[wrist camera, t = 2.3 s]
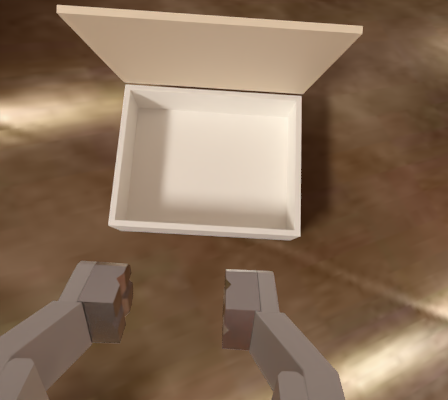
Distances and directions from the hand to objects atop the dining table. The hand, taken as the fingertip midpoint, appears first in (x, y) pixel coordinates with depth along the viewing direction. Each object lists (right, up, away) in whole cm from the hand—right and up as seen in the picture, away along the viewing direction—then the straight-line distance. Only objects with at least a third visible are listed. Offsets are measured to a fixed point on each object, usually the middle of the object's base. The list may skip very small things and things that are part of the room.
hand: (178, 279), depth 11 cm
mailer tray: (0, +6, +31) cm, 32 cm away
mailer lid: (+1, +15, +19) cm, 24 cm away
